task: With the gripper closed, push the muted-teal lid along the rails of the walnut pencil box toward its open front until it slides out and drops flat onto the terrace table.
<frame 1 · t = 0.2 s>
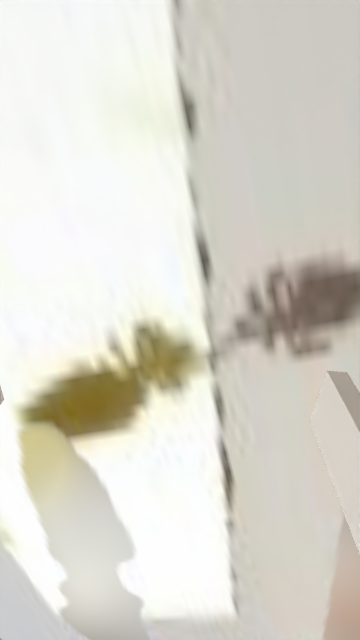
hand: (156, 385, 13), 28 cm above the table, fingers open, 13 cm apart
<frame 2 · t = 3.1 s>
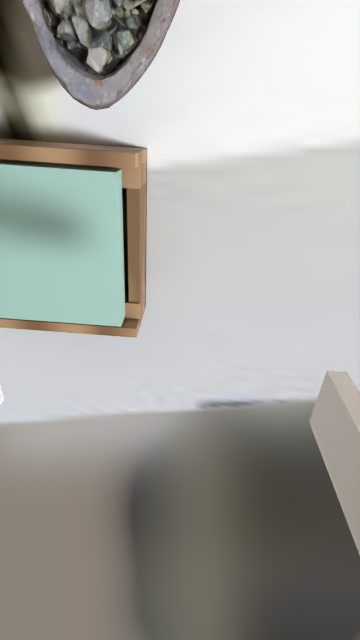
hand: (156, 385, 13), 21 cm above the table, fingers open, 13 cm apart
lid: (22, 243, 28), point 4 cm above the table, touching box
box: (51, 229, 32), on the table
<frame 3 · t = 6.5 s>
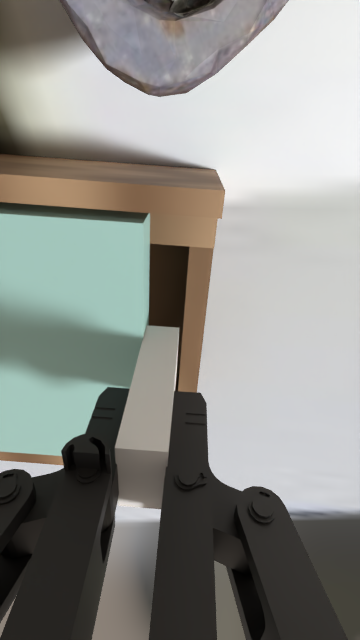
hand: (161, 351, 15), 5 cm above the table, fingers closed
box: (51, 292, 20), on the table
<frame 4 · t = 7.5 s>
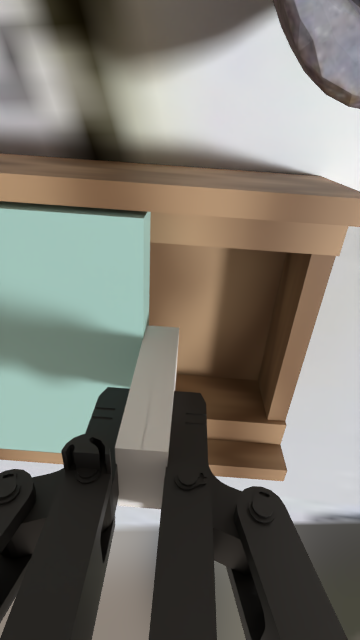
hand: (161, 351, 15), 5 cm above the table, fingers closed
box: (137, 298, 20), on the table
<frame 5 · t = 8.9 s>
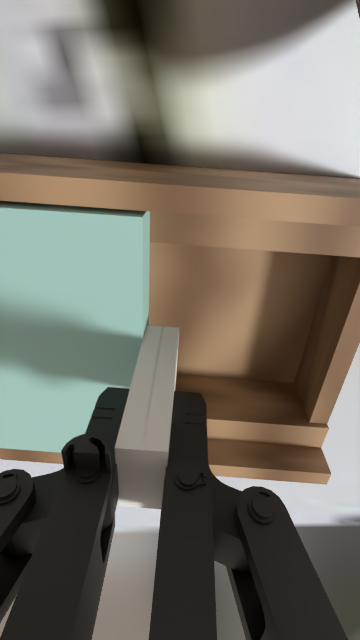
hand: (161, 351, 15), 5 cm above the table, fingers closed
box: (176, 301, 20), on the table
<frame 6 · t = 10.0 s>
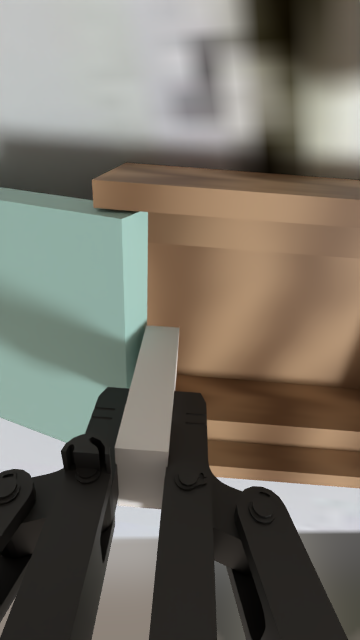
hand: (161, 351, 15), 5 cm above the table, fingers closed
lid: (4, 307, 18), point 3 cm above the table, tilted 18°, touching gripper
box: (278, 309, 20), on the table
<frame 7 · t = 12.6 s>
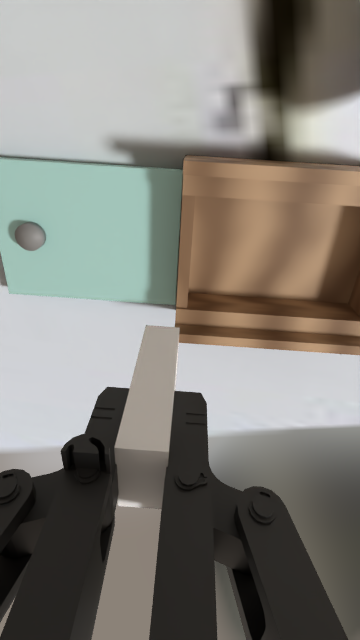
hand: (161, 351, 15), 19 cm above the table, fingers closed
lid: (93, 232, 32), on the table
box: (275, 247, 32), on the table
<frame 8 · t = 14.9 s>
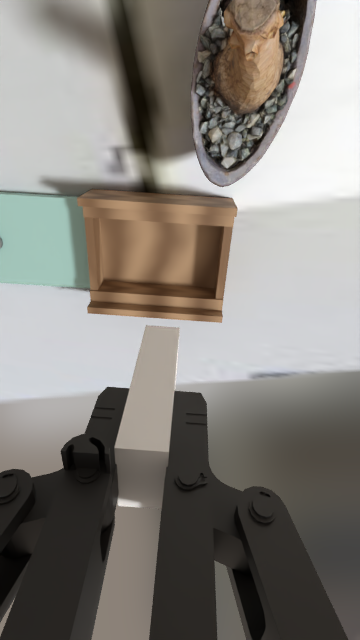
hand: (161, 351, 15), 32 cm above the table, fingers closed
lid: (36, 239, 47), on the table
box: (160, 249, 46), on the table
planter: (238, 76, 37), on the table
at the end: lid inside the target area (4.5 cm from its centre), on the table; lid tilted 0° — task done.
